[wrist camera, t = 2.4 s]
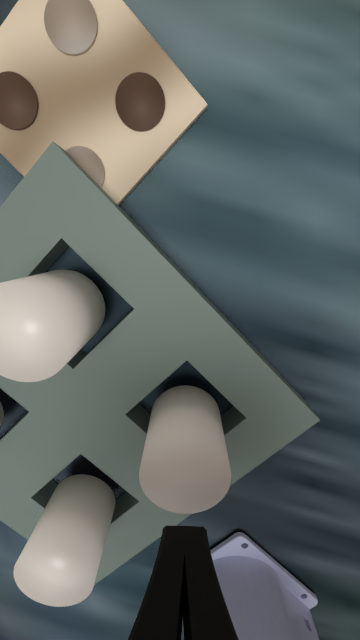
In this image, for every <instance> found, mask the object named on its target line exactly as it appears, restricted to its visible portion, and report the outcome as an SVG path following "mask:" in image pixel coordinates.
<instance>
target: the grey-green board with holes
mask: <svg viewBox="0 0 360 640" xmlns="http://www.w3.org/2000/svg"><path fill="white" fill-rule="evenodd" d="M69 246H70V247H71V248H72V249H73V250H74V251H75V252H76V253H77V254H78V255H79V256H80V257H81V258H82V259H83V260H85V261H86V262H87V263H88V264H89V265H90V266H91V267H92V268H93V269H94V270H95V271H96V272H97V273H98V274H99V275H100V276H101V277H102V278H103V279H104V280H105V281H106V282H107V283H108V284H109V285H110V286H111V287H112V288H113V289H114V290H115V291H116V292H117V293H118V294H119V295H120V296H121V297H123V298H124V299H125V300H126V301H127V302H128V303H129V304H130V305H131V306H132V307H133V309H132V310H131V311H130V312H129V313H128V314H127V315H126V316H125V317H124V318H123V319H122V320H121V321H120V322H119V323H118V324H117V325H116V326H115V327H114V328H113V329H112V330H111V331H109V332H108V333H107V334H106V335H105V336H104V337H103V338H102V339H101V340H100V341H99V342H98V343H97V344H96V345H95V346H94V347H93V348H92V349H91V350H90V351H89V352H88V353H87V354H86V355H84V354H83V353H82V352H81V351H80V350H79V351H78V352H77V354H76V355H75V356H74V357H73V358H72V359H71V360H70V361H69V362H68V363H67V364H66V365H65V366H64V367H63V368H62V369H61V370H60V371H59V372H57V373H56V374H55V375H53V376H52V377H50V378H47V379H45V380H42V381H37V382H19V381H14V380H11V379H8V378H5V377H3V376H1V375H0V388H1V389H2V390H3V391H4V392H5V393H7V394H8V395H9V396H10V397H12V398H13V399H14V400H15V401H17V402H18V403H19V404H20V405H21V406H23V407H24V408H25V409H26V410H28V412H27V413H26V414H25V415H24V416H23V417H22V418H21V419H20V420H19V421H18V422H17V423H16V424H15V425H14V426H13V427H12V428H11V429H10V430H9V431H8V432H7V433H6V434H5V435H4V436H3V437H2V438H1V439H0V520H1V521H2V522H4V523H5V524H6V525H8V526H9V527H11V528H12V529H13V530H15V531H16V532H18V533H19V534H20V535H22V536H23V537H24V538H26V539H27V540H29V538H30V536H31V534H32V532H33V530H34V528H35V526H36V525H37V523H38V521H39V519H40V517H41V515H42V513H43V511H44V509H45V508H46V506H47V504H48V502H49V500H50V498H51V496H52V494H53V492H54V491H55V489H56V487H57V485H58V483H56V482H55V481H54V480H53V478H54V477H55V476H56V475H57V474H58V473H59V472H61V471H62V470H63V469H64V468H65V467H66V466H67V465H69V464H70V463H71V462H72V461H73V460H74V459H75V458H76V457H78V456H79V455H80V454H82V455H83V456H84V457H85V458H86V459H88V460H89V461H90V462H91V463H93V464H94V465H95V466H96V467H98V468H99V469H100V470H101V471H102V472H104V473H105V474H106V475H107V476H109V477H110V478H111V479H112V480H113V481H115V482H116V483H117V484H118V485H120V486H121V487H122V488H123V489H125V490H126V492H125V493H123V494H122V495H121V496H120V497H118V498H117V499H116V504H115V509H114V513H113V516H112V520H111V524H110V527H109V531H108V535H107V538H106V542H105V546H104V550H103V553H102V557H101V561H100V564H99V568H98V572H97V575H96V579H95V583H94V585H95V584H96V583H98V582H99V581H100V580H102V579H103V578H104V577H106V576H107V575H109V574H110V573H111V572H113V571H114V570H115V569H117V568H118V567H120V566H121V565H122V564H124V563H125V562H126V561H128V560H129V559H131V558H132V557H133V556H135V555H136V554H137V553H139V552H140V551H142V550H143V549H144V548H146V547H147V546H148V545H150V544H151V543H152V542H154V541H155V540H157V539H158V538H159V537H161V536H162V531H163V528H164V527H165V526H166V525H167V526H176V525H177V524H179V523H180V522H181V521H183V520H184V519H185V518H187V517H188V516H190V515H191V514H180V513H174V512H170V511H167V510H164V509H162V508H160V507H158V506H157V505H155V504H154V503H153V502H152V501H151V500H149V499H148V497H147V496H146V495H145V493H144V492H143V490H142V488H141V485H140V481H139V469H140V465H141V460H142V455H143V450H144V445H145V440H146V436H147V431H148V426H149V421H150V416H151V414H150V413H149V412H148V411H147V410H146V409H144V408H143V407H142V406H141V405H140V404H139V402H140V401H141V400H142V399H143V398H145V397H146V396H147V395H148V394H149V393H150V392H151V391H153V390H154V389H155V388H156V387H157V386H158V385H159V384H160V383H162V382H163V381H164V380H165V379H166V378H167V377H168V376H170V375H171V374H172V373H173V372H174V371H175V370H176V369H177V368H179V367H180V366H181V365H182V364H183V363H184V362H185V361H188V362H189V363H190V364H191V365H192V366H193V367H194V368H195V369H196V370H198V371H199V372H200V373H201V374H202V375H203V376H204V377H205V378H206V379H207V380H208V381H209V382H210V383H211V384H212V385H213V386H214V387H215V388H216V389H217V390H218V391H219V392H220V393H221V394H222V395H223V396H224V397H225V398H226V399H227V400H228V401H229V402H230V403H231V404H232V405H233V406H232V407H231V408H229V409H228V410H227V411H226V412H224V413H223V414H222V415H221V422H222V427H223V432H224V437H225V443H226V448H227V453H228V459H229V464H230V469H231V484H230V486H231V485H232V484H233V483H235V482H236V481H238V480H239V479H240V478H242V477H243V476H244V475H246V474H247V473H248V472H250V471H251V470H253V469H254V468H255V467H257V466H258V465H259V464H261V463H262V462H264V461H265V460H266V459H268V458H269V457H270V456H272V455H273V454H275V453H276V452H277V451H279V450H280V449H281V448H283V447H284V446H286V445H287V444H288V443H290V442H291V441H292V440H294V439H295V438H296V437H298V436H299V435H301V434H302V433H303V432H305V431H306V430H307V429H309V428H310V427H312V426H313V425H314V424H316V423H317V422H318V421H320V419H319V418H318V417H317V415H316V414H315V413H314V411H313V410H312V409H311V407H310V406H309V404H308V403H307V402H306V401H305V400H304V399H303V398H302V396H301V395H300V394H299V393H298V392H297V391H296V390H295V389H294V388H293V387H292V386H291V385H290V384H289V383H288V382H287V381H286V380H285V379H284V378H283V377H282V376H281V374H280V373H279V372H278V371H277V370H276V369H275V368H274V367H273V366H272V365H271V364H270V363H269V362H268V361H267V360H266V359H265V358H264V357H263V356H262V355H261V354H260V352H259V351H258V350H257V349H256V348H255V347H254V346H253V345H252V344H251V343H250V342H249V341H248V340H247V339H246V338H245V337H244V336H243V335H242V334H241V333H240V332H239V330H238V329H237V328H236V327H235V326H234V325H233V324H232V323H231V322H230V321H229V320H228V319H227V318H226V317H225V316H224V315H223V314H222V313H221V312H220V311H219V310H218V308H217V307H216V306H215V305H214V304H213V303H212V302H211V301H210V300H209V299H208V298H207V297H206V296H205V295H204V294H203V293H202V292H201V291H200V290H199V289H198V288H197V286H196V285H195V284H194V283H193V282H192V281H191V280H190V279H189V278H188V277H187V276H186V275H185V274H184V273H183V272H182V271H181V270H180V269H179V268H178V267H177V266H176V265H175V263H174V262H173V261H172V260H171V259H170V258H169V257H168V256H167V255H166V254H165V253H164V252H163V251H162V250H161V249H160V248H159V247H158V246H157V245H156V244H155V243H154V241H153V240H152V239H151V238H150V237H149V236H148V235H147V234H146V233H145V232H144V231H143V230H142V229H141V228H140V227H139V226H138V225H137V224H136V223H135V222H134V221H133V219H132V218H131V217H130V216H129V215H128V214H127V213H126V212H125V211H124V210H123V209H122V208H121V207H120V206H119V205H117V204H116V203H115V202H114V201H113V199H112V198H111V197H110V196H109V195H108V194H107V193H106V192H105V191H104V190H103V189H102V188H101V187H100V186H99V185H98V184H97V183H96V182H95V181H94V180H93V179H92V178H91V177H90V176H89V175H88V174H87V173H86V172H85V171H84V170H83V169H82V168H81V166H80V165H79V164H78V163H77V162H76V161H75V160H74V159H73V158H72V157H71V156H70V155H69V154H68V153H67V152H66V151H65V150H64V149H63V148H61V147H60V146H58V145H57V144H56V143H54V142H53V141H52V143H51V144H50V145H49V146H48V148H47V149H46V150H45V151H44V153H43V154H42V155H41V157H40V158H39V159H38V160H37V162H36V163H35V164H34V165H33V167H32V168H31V169H30V170H29V172H28V173H27V174H26V175H25V177H24V178H23V179H22V180H21V182H20V183H19V184H18V185H17V187H16V188H15V189H14V190H13V192H12V193H11V194H10V195H9V197H8V198H7V199H6V200H5V202H4V203H3V204H2V206H1V207H0V283H1V282H6V281H10V280H15V279H19V278H23V277H28V276H32V275H36V274H41V273H45V272H47V270H48V269H49V268H50V267H51V266H52V265H53V264H54V263H55V261H56V260H57V259H58V258H59V257H60V256H61V255H62V254H63V252H64V251H65V250H66V249H67V248H68V247H69Z"/></svg>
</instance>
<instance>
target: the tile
mask: <svg viewBox="0 0 360 640" xmlns="http://www.w3.org/2000/svg"><path fill="white" fill-rule="evenodd" d="M206 108H207V103H206V102H205V101H204V99H203V98H202V97H201V96H200V95H199V93H198V92H197V91H196V90H195V88H194V87H193V86H192V85H191V84H190V82H189V81H188V80H187V79H186V77H185V76H184V75H183V74H182V73H181V71H180V70H179V69H178V68H177V66H176V65H175V64H174V63H173V62H172V60H171V59H170V58H169V57H168V55H167V54H166V53H165V52H164V51H163V49H162V48H161V47H160V46H159V44H158V43H157V42H156V41H155V40H154V38H153V37H152V36H151V35H150V33H149V32H148V31H147V30H146V29H145V27H144V26H143V25H142V24H141V22H140V21H139V20H138V19H137V18H136V16H135V15H134V14H133V13H132V11H131V10H130V9H129V8H128V7H127V5H126V4H125V3H124V2H123V1H122V0H18V2H17V3H16V5H15V6H14V8H13V9H12V11H11V12H10V14H9V15H8V17H7V18H6V19H5V21H4V22H3V24H2V25H1V27H0V153H1V154H2V155H3V156H4V157H5V158H6V159H7V160H8V161H9V162H10V163H11V164H12V165H13V166H14V167H15V168H16V169H17V170H18V171H19V172H20V173H21V174H22V175H23V176H24V177H25V175H26V174H27V173H28V172H29V170H30V169H31V168H32V167H33V165H34V164H35V163H36V162H37V160H38V159H39V158H40V157H41V155H42V154H43V153H44V151H45V150H46V149H47V148H48V146H49V145H50V144H51V143H52V141H53V142H54V143H56V144H57V145H58V146H60V147H61V148H63V149H64V150H65V151H66V152H67V153H68V154H69V155H70V156H71V157H72V158H73V159H74V160H75V161H76V162H77V163H78V164H79V165H80V166H81V168H82V169H83V170H84V171H85V172H86V173H87V174H88V175H89V176H90V177H91V178H92V179H93V180H94V181H95V182H96V183H97V184H98V185H99V186H100V187H101V188H102V189H103V190H104V191H105V192H106V193H107V194H108V195H109V196H110V197H111V198H112V199H113V201H114V202H115V203H116V204H117V205H120V203H121V202H122V201H123V200H124V199H125V198H126V197H127V196H128V195H129V193H130V192H131V191H132V190H133V189H134V188H135V187H136V186H137V185H138V184H139V182H140V181H141V180H142V179H143V178H144V177H145V176H146V175H147V174H148V172H149V171H150V170H151V169H152V168H153V167H154V166H155V165H156V164H157V163H158V161H159V160H160V159H161V158H162V157H163V156H164V155H165V154H166V153H167V152H168V150H169V149H170V148H171V147H172V146H173V145H174V144H175V143H176V142H177V140H178V139H179V138H180V137H181V136H182V135H183V134H184V133H185V132H186V131H187V129H188V128H189V127H190V126H191V125H192V124H193V123H194V122H195V121H196V120H197V118H198V117H199V116H200V115H201V114H202V113H203V112H204V111H205V110H206Z"/></svg>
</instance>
